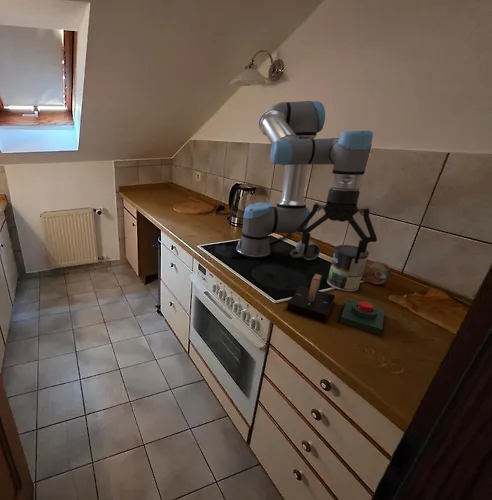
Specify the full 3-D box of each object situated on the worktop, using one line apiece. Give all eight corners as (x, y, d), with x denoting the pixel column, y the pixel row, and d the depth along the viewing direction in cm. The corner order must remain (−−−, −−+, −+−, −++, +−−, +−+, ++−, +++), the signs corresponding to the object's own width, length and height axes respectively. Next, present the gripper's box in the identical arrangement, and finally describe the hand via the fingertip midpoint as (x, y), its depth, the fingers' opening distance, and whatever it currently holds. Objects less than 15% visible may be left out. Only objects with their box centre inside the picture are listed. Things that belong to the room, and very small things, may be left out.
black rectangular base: (298, 292, 108) (299, 285, 107) (333, 302, 101) (335, 294, 100) (286, 310, 98) (288, 302, 97) (324, 323, 91) (326, 314, 90)
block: (345, 305, 100) (348, 294, 98) (382, 315, 94) (386, 305, 92) (339, 322, 91) (342, 311, 90) (380, 335, 86) (384, 324, 84)
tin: (343, 271, 121) (348, 252, 118) (348, 270, 123) (353, 251, 119) (383, 288, 109) (390, 267, 105) (388, 286, 110) (395, 266, 107)
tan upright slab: (310, 294, 101) (315, 273, 98) (316, 296, 100) (321, 274, 96) (307, 301, 97) (312, 279, 94) (313, 303, 96) (318, 280, 93)
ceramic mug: (309, 252, 140) (311, 237, 137) (318, 260, 132) (321, 243, 129) (286, 253, 140) (288, 238, 137) (294, 261, 132) (297, 245, 129)
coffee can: (327, 287, 110) (335, 253, 105) (326, 276, 119) (334, 243, 113) (360, 294, 106) (371, 258, 100) (357, 281, 114) (366, 247, 109)
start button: (358, 304, 94) (359, 299, 93) (372, 308, 91) (373, 303, 91) (356, 309, 91) (358, 305, 90) (371, 314, 89) (372, 309, 88)
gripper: (294, 187, 89) (283, 253, 96) (402, 194, 75) (380, 270, 83) (298, 184, 94) (288, 246, 102) (399, 190, 81) (379, 261, 88)
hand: (329, 257), depth 92 cm, fingers open, 13 cm apart
